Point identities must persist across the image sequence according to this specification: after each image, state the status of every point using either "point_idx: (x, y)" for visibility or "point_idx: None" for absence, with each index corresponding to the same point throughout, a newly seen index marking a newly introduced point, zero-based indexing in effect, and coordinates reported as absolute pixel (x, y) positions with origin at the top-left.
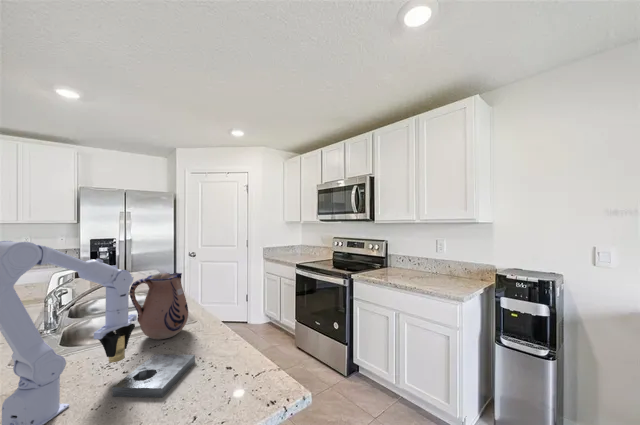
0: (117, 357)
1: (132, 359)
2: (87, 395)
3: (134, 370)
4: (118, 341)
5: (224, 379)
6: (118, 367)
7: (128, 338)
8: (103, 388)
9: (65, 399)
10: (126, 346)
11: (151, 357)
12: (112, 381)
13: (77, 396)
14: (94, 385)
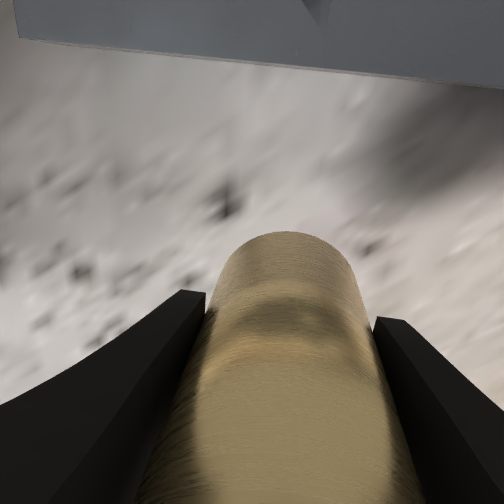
0: (353, 282)
1: (64, 252)
2: (484, 280)
3: (340, 64)
4: (404, 464)
5: None
6: (168, 283)
7: (107, 362)
8: (423, 231)
9: (488, 366)
10: (177, 299)
11: (85, 31)
12: (342, 222)
13: (476, 327)
14: (371, 304)
